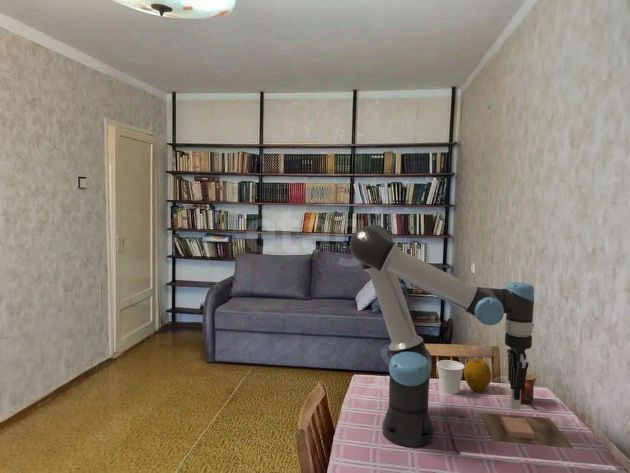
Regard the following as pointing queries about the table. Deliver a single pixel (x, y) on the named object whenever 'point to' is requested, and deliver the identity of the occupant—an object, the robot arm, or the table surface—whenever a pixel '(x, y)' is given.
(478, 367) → the apple
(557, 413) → the table surface
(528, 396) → the mug
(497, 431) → the board
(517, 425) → the tile
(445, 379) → the cup
